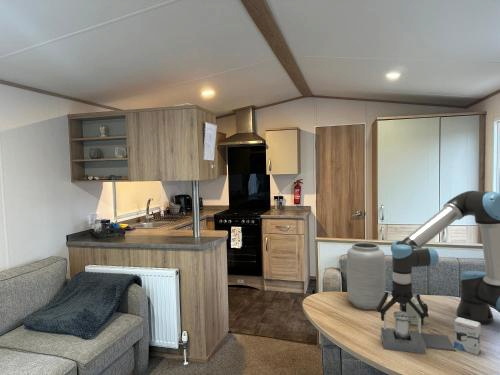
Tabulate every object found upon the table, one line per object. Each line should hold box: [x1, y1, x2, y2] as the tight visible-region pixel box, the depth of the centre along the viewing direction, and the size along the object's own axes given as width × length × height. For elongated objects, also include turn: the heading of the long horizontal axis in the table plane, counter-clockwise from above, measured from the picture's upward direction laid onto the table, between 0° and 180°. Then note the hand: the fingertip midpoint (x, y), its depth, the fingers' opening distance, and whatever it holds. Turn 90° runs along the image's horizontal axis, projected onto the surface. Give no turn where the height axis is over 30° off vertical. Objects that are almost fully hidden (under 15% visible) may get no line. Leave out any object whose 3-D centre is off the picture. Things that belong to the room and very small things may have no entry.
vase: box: [346, 241, 386, 310], centre depth 184 cm, size 20×20×34 cm
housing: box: [380, 327, 427, 355], centre depth 142 cm, size 16×12×4 cm
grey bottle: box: [392, 310, 411, 340], centre depth 142 cm, size 7×7×13 cm
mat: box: [421, 332, 456, 352], centre depth 143 cm, size 12×12×1 cm
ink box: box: [453, 316, 482, 356], centre depth 137 cm, size 8×5×12 cm, turn 44°
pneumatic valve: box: [399, 298, 429, 326], centre depth 161 cm, size 6×12×12 cm, turn 78°
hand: (401, 329), depth 142 cm, fingers open, 13 cm apart
